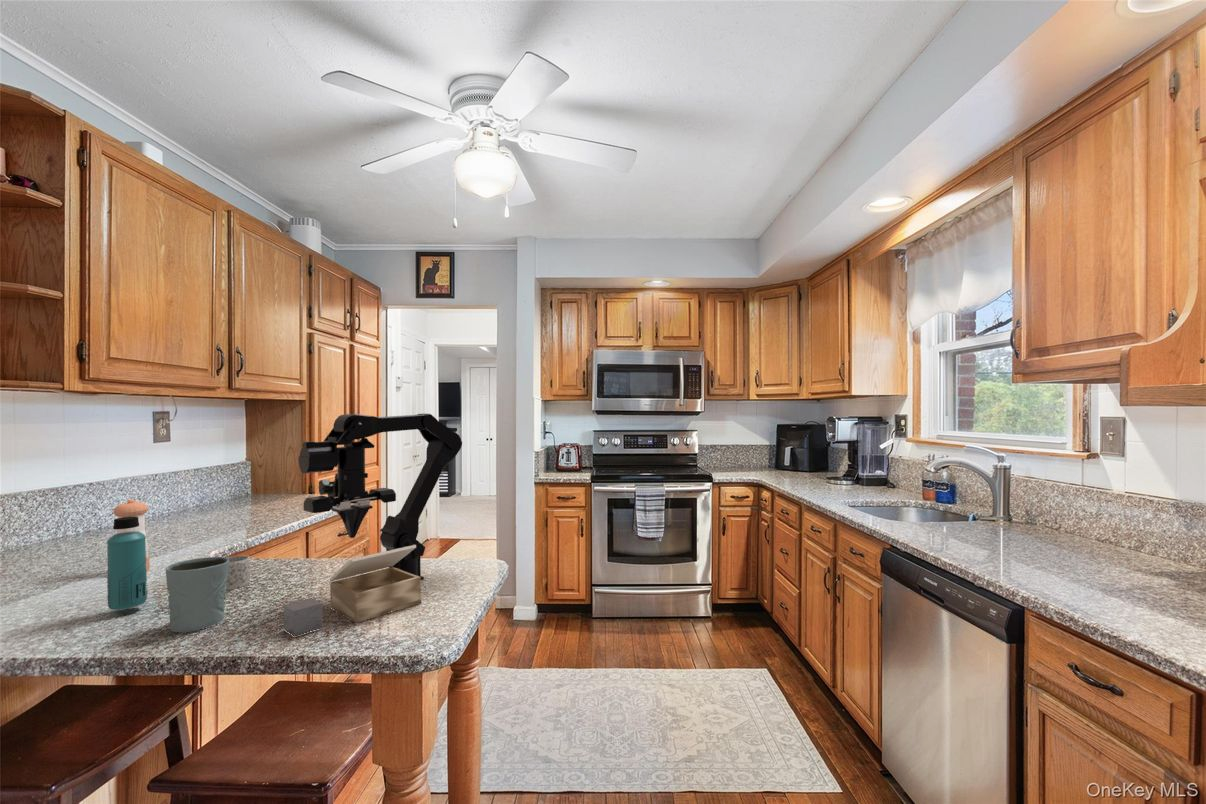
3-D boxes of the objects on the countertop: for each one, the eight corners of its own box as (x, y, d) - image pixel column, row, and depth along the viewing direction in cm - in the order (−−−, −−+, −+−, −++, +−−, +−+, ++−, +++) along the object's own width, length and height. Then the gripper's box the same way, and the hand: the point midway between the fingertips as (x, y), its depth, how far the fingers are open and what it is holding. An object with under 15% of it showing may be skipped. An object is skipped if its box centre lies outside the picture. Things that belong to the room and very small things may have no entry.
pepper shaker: (149, 572, 143) (148, 499, 143) (112, 578, 138) (111, 503, 139) (149, 566, 149) (148, 496, 149) (113, 571, 144) (113, 499, 144)
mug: (233, 581, 134) (233, 554, 134) (256, 583, 133) (256, 556, 133) (196, 595, 124) (195, 566, 124) (220, 597, 123) (219, 568, 123)
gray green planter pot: (152, 633, 103) (151, 570, 103) (194, 613, 113) (194, 556, 113) (203, 634, 103) (202, 570, 103) (241, 613, 113) (241, 556, 113)
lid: (392, 566, 125) (392, 563, 125) (416, 547, 119) (415, 544, 119) (330, 581, 115) (329, 578, 115) (352, 561, 108) (351, 558, 108)
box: (393, 591, 125) (392, 566, 125) (420, 602, 117) (420, 577, 117) (330, 608, 115) (330, 582, 115) (356, 623, 107) (356, 594, 107)
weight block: (311, 623, 107) (311, 597, 108) (322, 629, 104) (321, 603, 104) (284, 631, 104) (283, 604, 104) (294, 638, 100) (293, 611, 100)
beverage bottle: (138, 615, 113) (137, 519, 113) (99, 619, 111) (98, 521, 111) (154, 604, 119) (153, 513, 119) (117, 607, 117) (116, 515, 117)
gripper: (374, 463, 136) (374, 525, 136) (293, 470, 122) (294, 540, 121) (396, 466, 128) (397, 531, 128) (313, 474, 114) (314, 548, 114)
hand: (352, 537), depth 123 cm, fingers closed
